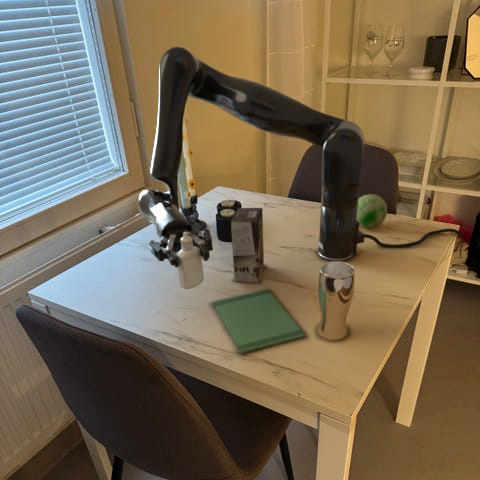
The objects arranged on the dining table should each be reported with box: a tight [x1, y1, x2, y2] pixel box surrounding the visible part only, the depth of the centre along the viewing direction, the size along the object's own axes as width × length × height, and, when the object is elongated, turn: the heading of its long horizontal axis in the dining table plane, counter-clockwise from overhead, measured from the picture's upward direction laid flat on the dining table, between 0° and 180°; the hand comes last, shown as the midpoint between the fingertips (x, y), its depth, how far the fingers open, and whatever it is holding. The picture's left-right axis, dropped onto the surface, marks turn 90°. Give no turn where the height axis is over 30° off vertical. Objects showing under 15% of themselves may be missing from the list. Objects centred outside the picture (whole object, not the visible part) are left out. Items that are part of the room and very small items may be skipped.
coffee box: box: [230, 207, 265, 283], centre depth 114 cm, size 9×6×16 cm
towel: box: [212, 288, 306, 354], centre depth 102 cm, size 14×20×1 cm
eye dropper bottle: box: [176, 232, 205, 290], centre depth 96 cm, size 4×6×12 cm
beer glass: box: [317, 261, 356, 341], centre depth 93 cm, size 7×7×15 cm
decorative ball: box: [356, 193, 388, 230], centre depth 135 cm, size 10×10×10 cm
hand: (191, 259), depth 94 cm, fingers closed on eye dropper bottle, 5 cm apart
